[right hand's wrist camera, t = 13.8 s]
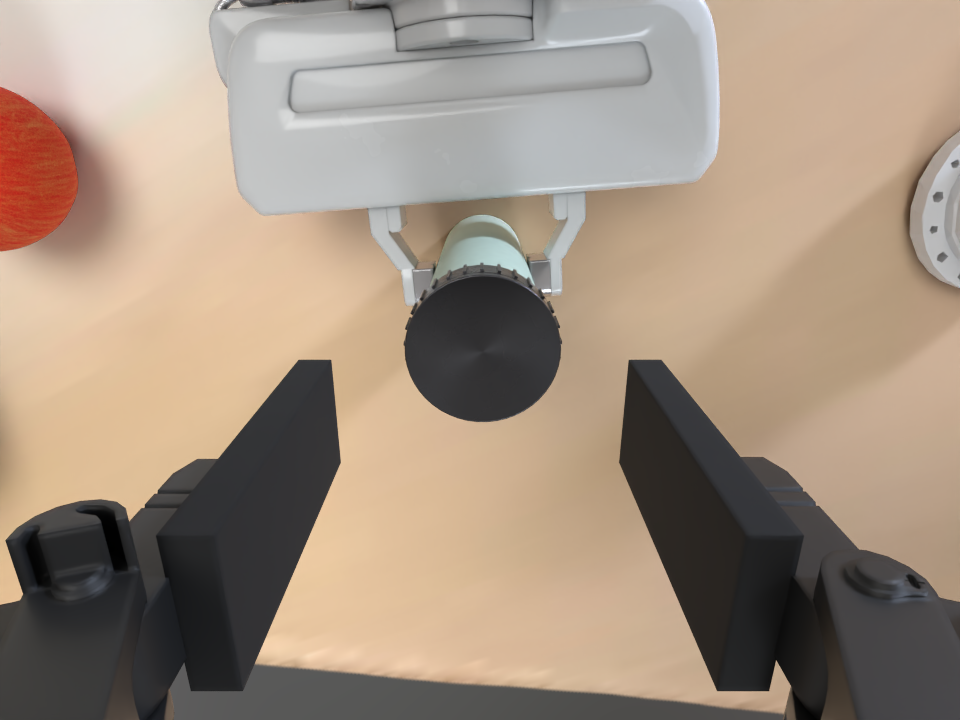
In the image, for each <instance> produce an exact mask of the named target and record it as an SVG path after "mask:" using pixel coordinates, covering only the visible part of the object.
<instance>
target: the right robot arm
mask: <svg viewBox="0 0 960 720" xmlns="http://www.w3.org/2000/svg"><path fill="white" fill-rule="evenodd" d="M340 463H341V460H340V449H339V439H338V428H337V417H336V406H335V396H334V385H333V374H332V363H331V360H298V361H297V363H296V364H295V365H294V366H293V368H292V369H291V370H290V371H289V372H288V374H287V375H286V376H285V377H284V379H283V380H282V381H281V382H280V384H279V385H278V386H277V387H276V388H275V390H274V391H273V392H272V393H271V395H270V396H269V397H268V398H267V399H266V401H265V402H264V403H263V404H262V406H261V407H260V408H259V409H258V411H257V412H256V413H255V414H254V415H253V417H252V418H251V419H250V420H249V422H248V423H247V424H246V425H245V427H244V428H243V429H242V430H241V431H240V433H239V434H238V435H237V436H236V438H235V439H234V440H233V441H232V442H231V444H230V445H229V446H228V447H227V449H226V450H225V451H224V452H223V454H222V455H221V456H220V457H219V458H218V459H197V460H195V461H193V462H192V463H190V464H188V465H187V466H185V467H183V468H182V469H180V470H178V471H177V472H175V473H173V474H172V475H171V477H170V478H169V479H168V480H167V481H166V482H165V483H164V484H163V485H162V486H161V487H160V489H159V490H158V494H154V495H153V496H152V497H151V498H150V500H149V501H148V502H147V503H146V504H145V508H141V509H140V511H139V512H138V513H137V514H136V515H135V516H134V517H133V518H132V519H131V520H130V521H129V520H128V516H127V512H126V508H124V507H123V506H122V505H120V504H119V503H117V502H114V501H108V500H101V499H100V500H88V501H79V502H75V503H71V504H67V505H63V506H59V507H56V508H54V509H51V510H49V511H46V512H44V513H42V514H39V515H37V516H35V517H33V518H32V519H30V520H29V521H27V522H25V523H24V524H22V525H21V526H19V527H18V528H16V530H15V531H14V532H13V533H12V534H11V535H10V536H9V537H8V538H7V539H6V540H5V541H6V544H7V547H8V550H9V553H10V556H11V559H12V562H13V565H14V568H15V571H16V574H17V577H18V580H19V583H20V586H21V589H22V592H23V596H22V598H21V600H20V601H16V602H12V603H7V604H2V605H0V720H173V718H174V708H173V701H172V697H171V693H170V686H171V685H172V683H173V681H174V679H175V677H176V676H177V674H178V672H179V670H180V669H181V667H182V665H183V663H184V662H185V667H186V671H187V676H188V680H189V684H190V688H191V691H243V689H244V687H245V685H246V682H247V680H248V678H249V675H250V673H251V671H252V668H253V666H254V664H255V661H256V659H257V657H258V654H259V652H260V650H261V647H262V645H263V643H264V640H265V638H266V636H267V633H268V631H269V629H270V626H271V624H272V622H273V619H274V617H275V615H276V612H277V610H278V608H279V605H280V603H281V601H282V598H283V596H284V594H285V591H286V589H287V587H288V584H289V582H290V580H291V577H292V575H293V573H294V570H295V568H296V566H297V563H298V561H299V559H300V556H301V554H302V552H303V549H304V547H305V545H306V542H307V540H308V538H309V535H310V533H311V531H312V528H313V526H314V524H315V521H316V519H317V517H318V514H319V512H320V510H321V507H322V505H323V503H324V500H325V498H326V496H327V493H328V491H329V489H330V486H331V484H332V482H333V479H334V477H335V475H336V472H337V470H338V468H339V465H340ZM619 463H620V465H621V468H622V470H623V472H624V475H625V477H626V479H627V482H628V484H629V486H630V489H631V491H632V493H633V496H634V498H635V500H636V503H637V505H638V507H639V510H640V512H641V514H642V517H643V519H644V521H645V524H646V526H647V528H648V531H649V533H650V535H651V538H652V540H653V542H654V545H655V547H656V549H657V552H658V554H659V556H660V559H661V561H662V563H663V566H664V568H665V570H666V573H667V575H668V577H669V580H670V582H671V584H672V587H673V589H674V591H675V594H676V596H677V598H678V601H679V603H680V605H681V608H682V610H683V612H684V615H685V617H686V619H687V622H688V624H689V626H690V629H691V631H692V633H693V636H694V638H695V640H696V643H697V645H698V647H699V650H700V652H701V654H702V657H703V659H704V661H705V664H706V666H707V668H708V671H709V673H710V675H711V678H712V680H713V682H714V685H715V687H716V689H717V691H769V689H770V684H771V680H772V676H773V671H774V667H775V662H776V660H777V662H778V664H779V666H780V667H781V669H782V671H783V673H784V674H785V676H786V678H787V680H788V681H789V683H790V685H791V688H790V693H789V697H788V701H787V705H786V709H785V713H784V717H783V720H960V602H956V601H952V600H947V599H943V598H939V597H938V595H937V593H936V592H935V590H934V589H933V588H932V586H931V585H930V584H929V583H928V581H927V580H926V579H925V578H923V577H922V576H921V575H919V574H918V573H917V572H915V571H914V570H912V569H911V568H910V567H908V566H906V565H904V564H902V563H900V562H898V561H896V560H894V559H892V558H890V557H887V556H884V555H880V554H877V553H873V552H870V551H866V550H859V549H858V548H857V547H856V546H855V545H854V544H853V543H852V542H851V540H850V539H849V538H848V537H847V536H846V535H845V534H844V533H843V532H842V531H841V530H840V528H839V527H838V526H837V525H836V524H835V523H834V522H833V521H832V520H831V519H830V518H829V516H828V515H827V514H826V513H825V512H824V511H823V510H822V509H821V508H820V507H819V506H816V502H815V501H814V500H813V499H812V498H811V497H810V496H809V495H808V494H807V493H806V492H803V488H802V487H801V486H800V485H799V484H798V483H797V482H796V481H795V479H794V478H793V477H792V476H791V475H790V474H789V473H788V472H787V471H785V470H784V469H782V468H780V467H779V466H777V465H775V464H774V463H772V462H770V461H769V460H767V459H765V458H764V457H740V456H739V455H738V454H737V452H736V451H735V450H734V449H733V447H732V446H731V445H730V444H729V442H728V441H727V440H726V439H725V438H724V436H723V435H722V434H721V433H720V431H719V430H718V429H717V428H716V427H715V425H714V424H713V423H712V422H711V420H710V419H709V418H708V417H707V415H706V414H705V413H704V412H703V411H702V409H701V408H700V407H699V406H698V404H697V403H696V402H695V401H694V399H693V398H692V397H691V396H690V395H689V393H688V392H687V391H686V390H685V388H684V387H683V386H682V385H681V384H680V382H679V381H678V380H677V379H676V377H675V376H674V375H673V374H672V372H671V371H670V370H669V369H668V368H667V366H666V365H665V364H664V363H663V361H662V360H629V363H628V374H627V385H626V396H625V406H624V417H623V428H622V439H621V449H620V460H619Z"/></svg>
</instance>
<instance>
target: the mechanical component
mask: <svg viewBox="0 0 960 720" xmlns="http://www.w3.org/2000/svg"><path fill="white" fill-rule="evenodd" d="M910 237H911V240H912V243H913V246H914V248H915V251H916V254H917V257H918V259H919V260H920V261H921V263H922V264H923V265H924V267H925V268H926V269H927V271H928V272H930V273H931V274H932V275H933V276H935V277H936V278H937V279H939V280H940V281H942V282H945V283H947V284H950V285H952V286H955V287H957V288H960V131H959V132H957V133H956V134H955V135H954V136H952V137H951V138H950V139H949V140H947V141H946V143H945V144H944V145H943V146H942V147H941V148H940V149H939V151H938V152H937V153H936V154H935V155H934V156H933V158H932V160H931V161H930V163H929V165H928V166H927V168H926V170H925V171H924V173H923V175H922V176H921V178H920V180H919V182H918V186H917V189H916V192H915V195H914V199H913V202H912V205H911V213H910Z"/></svg>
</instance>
